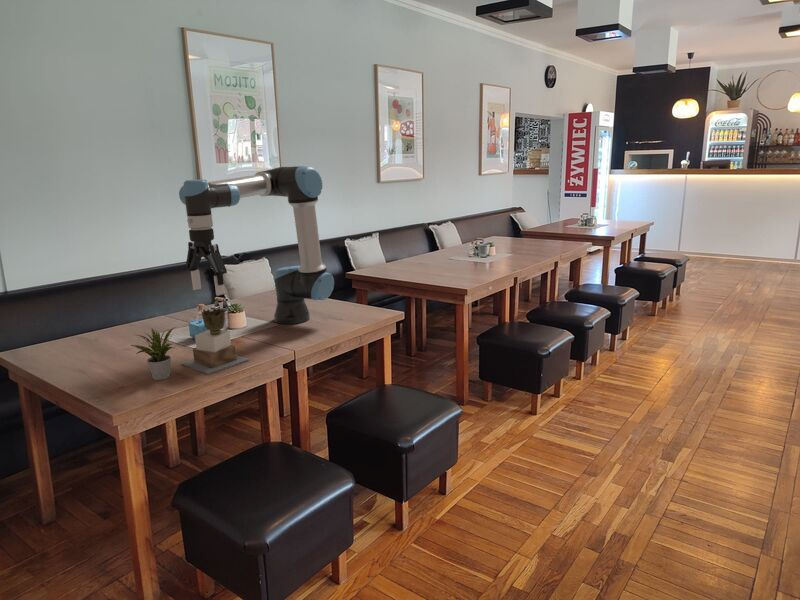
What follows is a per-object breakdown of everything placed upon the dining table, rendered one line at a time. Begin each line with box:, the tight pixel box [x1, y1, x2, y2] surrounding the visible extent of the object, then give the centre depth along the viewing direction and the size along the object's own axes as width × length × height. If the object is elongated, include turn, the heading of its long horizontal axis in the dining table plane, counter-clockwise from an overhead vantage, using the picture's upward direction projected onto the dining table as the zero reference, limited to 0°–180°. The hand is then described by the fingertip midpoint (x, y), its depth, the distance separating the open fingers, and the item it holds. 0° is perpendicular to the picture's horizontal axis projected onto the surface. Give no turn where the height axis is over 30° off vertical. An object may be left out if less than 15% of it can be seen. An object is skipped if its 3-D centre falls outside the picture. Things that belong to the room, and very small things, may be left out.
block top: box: [194, 329, 232, 352], centre depth 192 cm, size 8×8×5 cm
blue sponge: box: [188, 318, 208, 340], centre depth 221 cm, size 12×6×8 cm, turn 50°
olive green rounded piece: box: [201, 308, 226, 335], centre depth 189 cm, size 8×7×8 cm
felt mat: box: [181, 354, 250, 376], centre depth 194 cm, size 16×16×1 cm
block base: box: [192, 344, 237, 368], centre depth 193 cm, size 10×10×5 cm
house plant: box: [130, 326, 177, 381], centre depth 182 cm, size 14×14×16 cm
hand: (208, 292), depth 188 cm, fingers open, 13 cm apart
